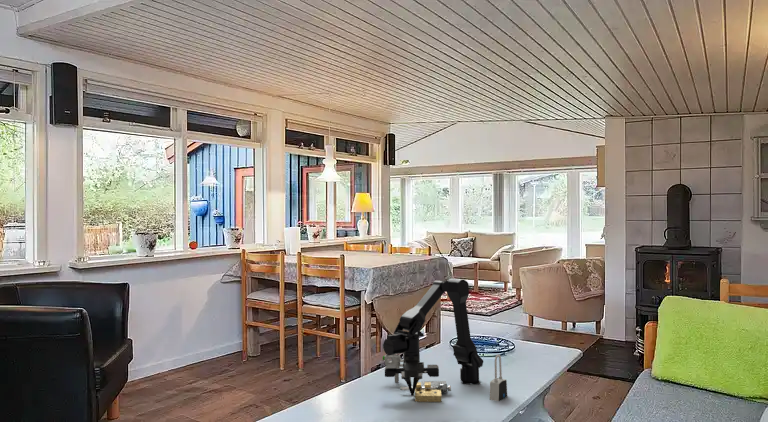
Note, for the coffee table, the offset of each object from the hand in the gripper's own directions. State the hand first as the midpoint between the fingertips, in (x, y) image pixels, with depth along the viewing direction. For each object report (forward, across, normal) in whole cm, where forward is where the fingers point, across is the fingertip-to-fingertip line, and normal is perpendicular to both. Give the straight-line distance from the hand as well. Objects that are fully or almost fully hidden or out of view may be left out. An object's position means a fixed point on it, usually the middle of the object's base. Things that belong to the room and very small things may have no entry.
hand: (412, 395), depth 202 cm
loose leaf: (+1, +5, +1) cm, 6 cm away
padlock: (+1, +30, 0) cm, 30 cm away
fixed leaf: (+1, +5, +8) cm, 9 cm away
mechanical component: (+1, -6, +19) cm, 20 cm away
